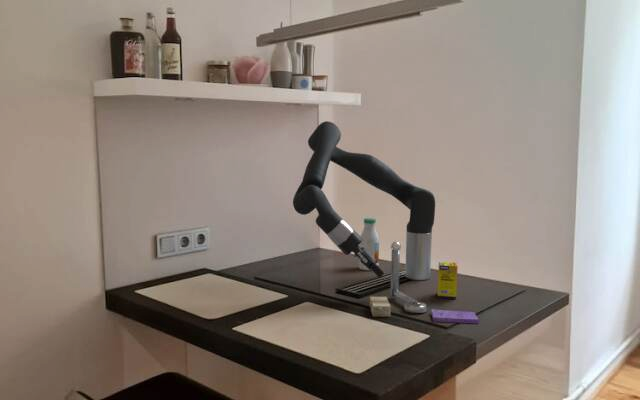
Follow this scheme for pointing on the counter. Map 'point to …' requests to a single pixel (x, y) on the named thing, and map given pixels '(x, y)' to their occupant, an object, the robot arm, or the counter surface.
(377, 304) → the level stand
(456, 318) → the sponges
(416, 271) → the robot arm
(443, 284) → the supplement box
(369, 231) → the milk bottle
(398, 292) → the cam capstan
